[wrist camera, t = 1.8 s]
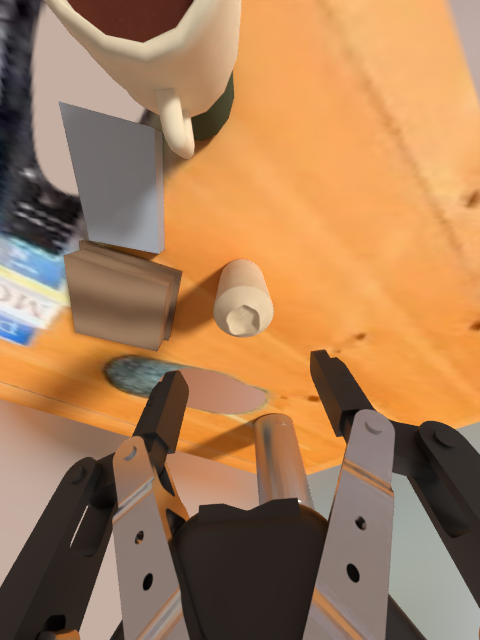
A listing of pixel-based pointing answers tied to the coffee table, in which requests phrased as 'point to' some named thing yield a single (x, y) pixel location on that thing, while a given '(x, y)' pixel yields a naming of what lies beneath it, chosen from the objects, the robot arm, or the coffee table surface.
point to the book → (117, 178)
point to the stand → (121, 296)
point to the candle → (242, 300)
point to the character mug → (164, 57)
